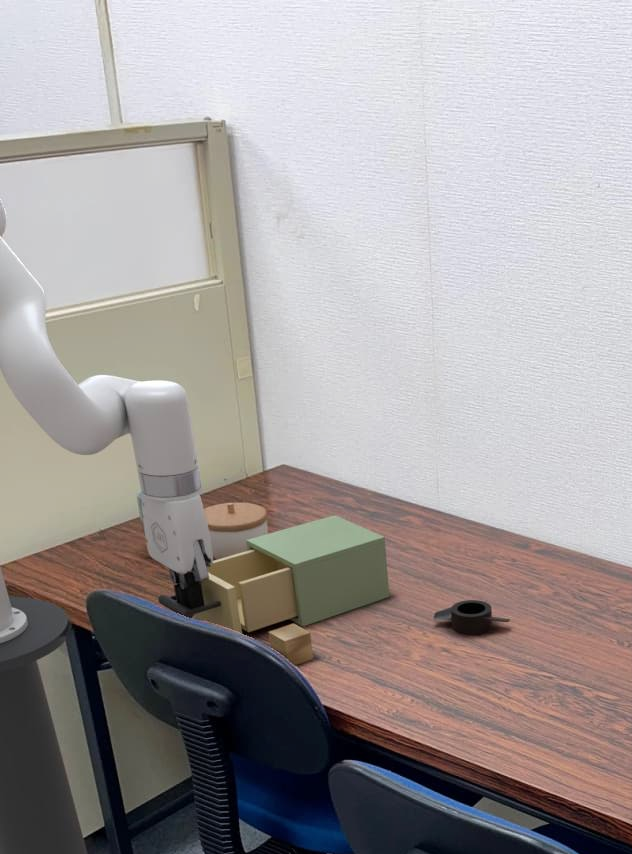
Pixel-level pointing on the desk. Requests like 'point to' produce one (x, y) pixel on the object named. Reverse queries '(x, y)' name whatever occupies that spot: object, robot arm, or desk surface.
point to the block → (292, 643)
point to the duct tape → (469, 617)
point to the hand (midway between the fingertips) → (191, 610)
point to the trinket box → (234, 527)
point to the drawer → (244, 593)
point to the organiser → (329, 566)
